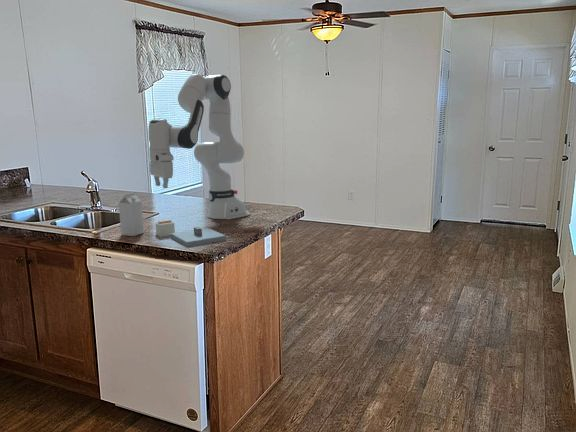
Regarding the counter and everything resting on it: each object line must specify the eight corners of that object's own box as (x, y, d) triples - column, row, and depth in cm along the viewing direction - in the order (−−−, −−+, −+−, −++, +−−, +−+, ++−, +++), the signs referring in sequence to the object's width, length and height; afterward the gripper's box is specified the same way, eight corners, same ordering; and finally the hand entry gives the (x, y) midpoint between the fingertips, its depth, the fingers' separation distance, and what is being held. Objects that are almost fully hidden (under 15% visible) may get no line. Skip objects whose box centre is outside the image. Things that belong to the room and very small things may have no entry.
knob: (156, 234, 231) (155, 221, 230) (170, 232, 235) (170, 219, 234) (160, 236, 227) (159, 223, 226) (174, 234, 231) (174, 221, 230)
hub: (208, 232, 235) (207, 221, 234) (225, 240, 220) (225, 229, 219) (171, 237, 225) (170, 226, 224) (187, 246, 211) (186, 235, 210)
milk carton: (121, 235, 231) (117, 194, 227) (131, 231, 237) (127, 191, 233) (134, 236, 228) (130, 194, 224) (143, 232, 235) (140, 192, 231)
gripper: (145, 154, 232) (147, 185, 234) (160, 157, 215) (162, 189, 217) (159, 154, 235) (160, 184, 238) (175, 156, 218) (176, 188, 221)
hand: (161, 186), depth 227 cm, fingers open, 8 cm apart
